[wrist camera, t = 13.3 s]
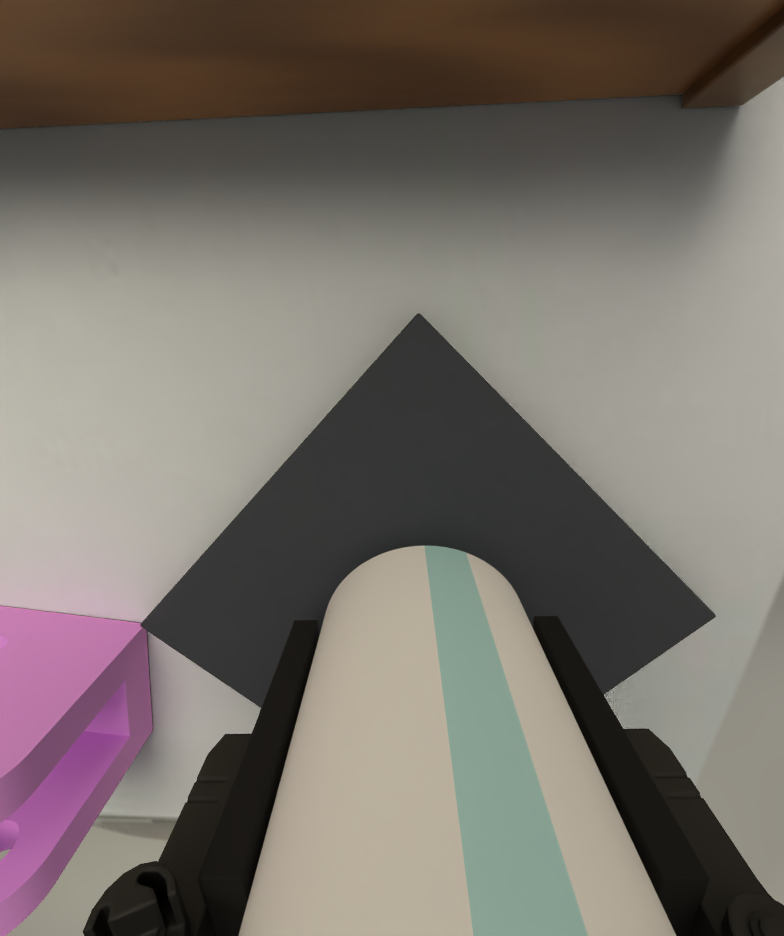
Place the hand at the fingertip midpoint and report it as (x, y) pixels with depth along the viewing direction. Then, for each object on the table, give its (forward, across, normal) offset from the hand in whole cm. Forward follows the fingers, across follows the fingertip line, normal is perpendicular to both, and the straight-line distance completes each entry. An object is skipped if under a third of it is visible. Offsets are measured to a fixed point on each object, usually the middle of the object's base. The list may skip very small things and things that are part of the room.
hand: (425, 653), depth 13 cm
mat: (+2, 0, 0) cm, 2 cm away
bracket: (+2, -18, -2) cm, 18 cm away
